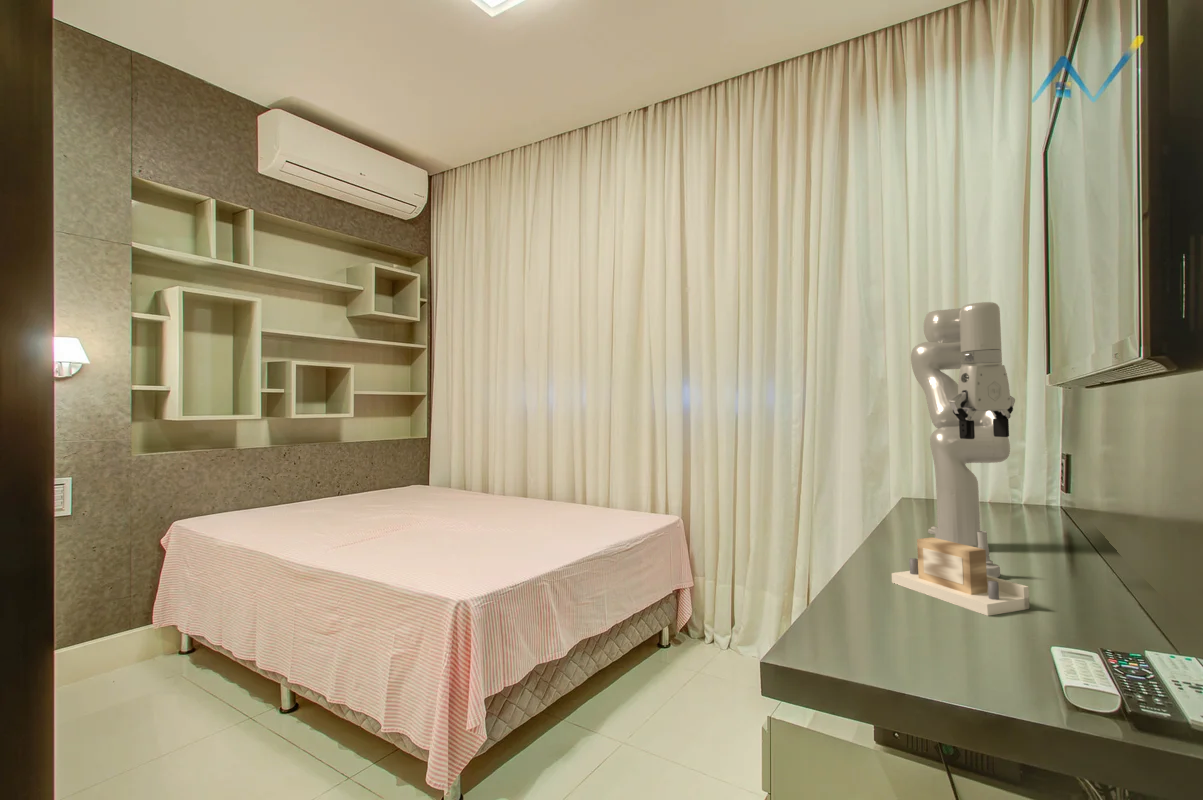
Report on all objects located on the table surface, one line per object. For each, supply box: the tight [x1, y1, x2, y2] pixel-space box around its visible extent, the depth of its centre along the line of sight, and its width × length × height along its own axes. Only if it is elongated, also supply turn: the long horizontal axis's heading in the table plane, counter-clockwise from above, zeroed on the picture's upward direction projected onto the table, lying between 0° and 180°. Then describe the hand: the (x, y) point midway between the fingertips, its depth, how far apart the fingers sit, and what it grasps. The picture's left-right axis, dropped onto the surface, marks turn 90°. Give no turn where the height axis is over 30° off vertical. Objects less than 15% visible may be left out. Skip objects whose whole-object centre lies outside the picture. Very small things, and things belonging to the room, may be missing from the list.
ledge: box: [891, 558, 1030, 617], centre depth 115 cm, size 22×10×5 cm, turn 17°
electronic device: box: [977, 530, 1001, 578], centre depth 131 cm, size 5×10×15 cm
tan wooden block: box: [916, 536, 987, 595], centre depth 115 cm, size 12×4×8 cm, turn 17°
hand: (984, 437), depth 128 cm, fingers open, 9 cm apart
